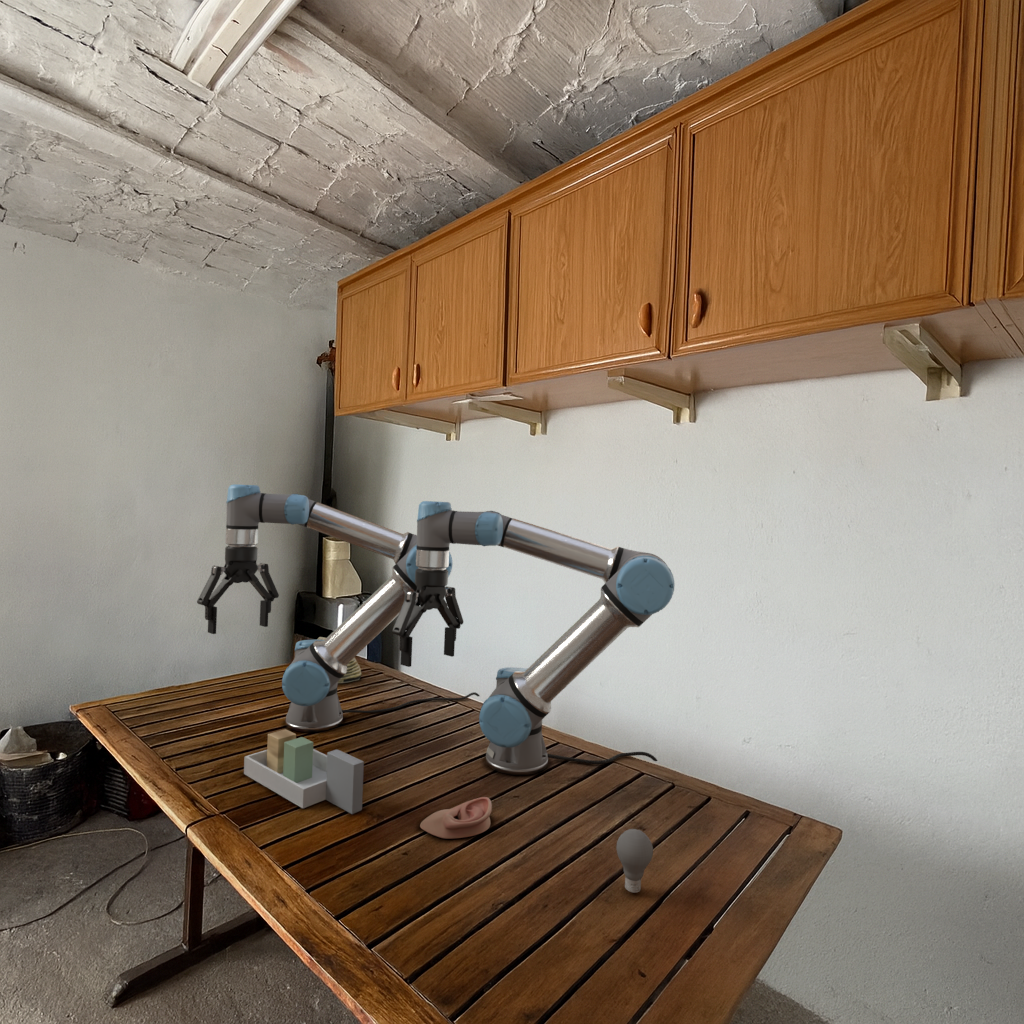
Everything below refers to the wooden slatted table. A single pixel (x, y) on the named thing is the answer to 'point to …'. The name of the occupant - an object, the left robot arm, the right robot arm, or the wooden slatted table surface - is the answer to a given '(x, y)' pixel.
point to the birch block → (277, 749)
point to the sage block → (298, 759)
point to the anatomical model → (460, 820)
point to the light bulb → (634, 857)
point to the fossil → (349, 670)
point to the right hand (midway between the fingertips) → (428, 660)
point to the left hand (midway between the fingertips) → (238, 629)
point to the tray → (315, 780)
